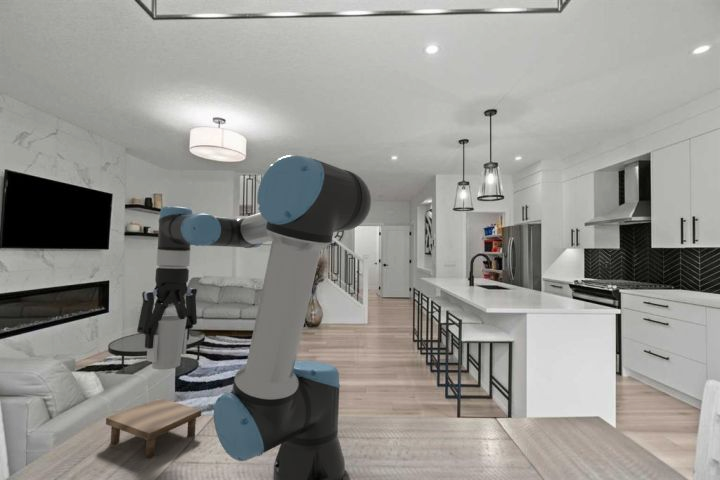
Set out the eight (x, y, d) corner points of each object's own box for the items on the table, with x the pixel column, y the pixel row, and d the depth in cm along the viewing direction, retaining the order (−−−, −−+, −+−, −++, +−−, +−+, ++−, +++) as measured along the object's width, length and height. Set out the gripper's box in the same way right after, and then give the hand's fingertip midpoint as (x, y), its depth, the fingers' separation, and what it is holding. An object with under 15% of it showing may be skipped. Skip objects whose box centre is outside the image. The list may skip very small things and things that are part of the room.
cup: (167, 372, 85) (171, 322, 86) (140, 368, 87) (143, 319, 88) (190, 362, 93) (193, 316, 94) (165, 359, 95) (168, 314, 95)
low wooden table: (200, 433, 91) (201, 409, 92) (147, 461, 79) (149, 433, 79) (158, 419, 98) (160, 397, 98) (104, 443, 86) (106, 417, 86)
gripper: (196, 265, 102) (191, 346, 101) (123, 266, 84) (116, 364, 83) (215, 267, 98) (210, 350, 98) (142, 268, 80) (135, 370, 79)
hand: (167, 356), depth 90 cm, fingers closed on cup, 7 cm apart
